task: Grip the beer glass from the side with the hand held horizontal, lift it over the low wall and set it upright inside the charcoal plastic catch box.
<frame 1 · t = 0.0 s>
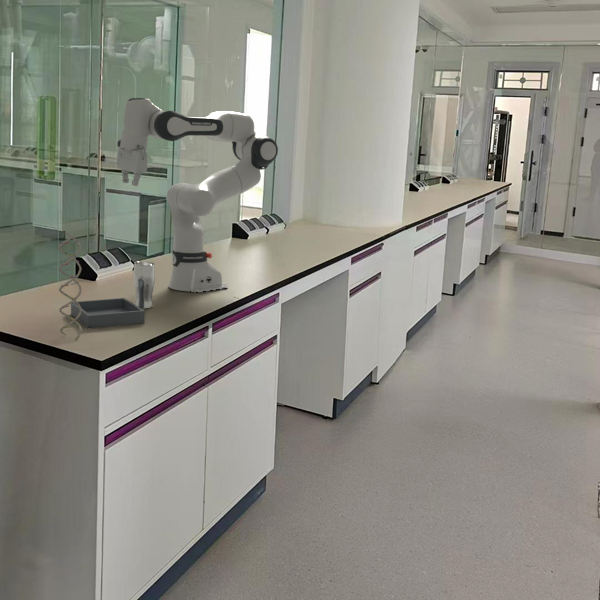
hand: (129, 184, 256), 39 cm above the table, tool pointing down, fingers open, 8 cm apart
dna model: (70, 338, 207), on the table
beer glass: (143, 307, 246), on the table
catch box: (107, 318, 229), on the table
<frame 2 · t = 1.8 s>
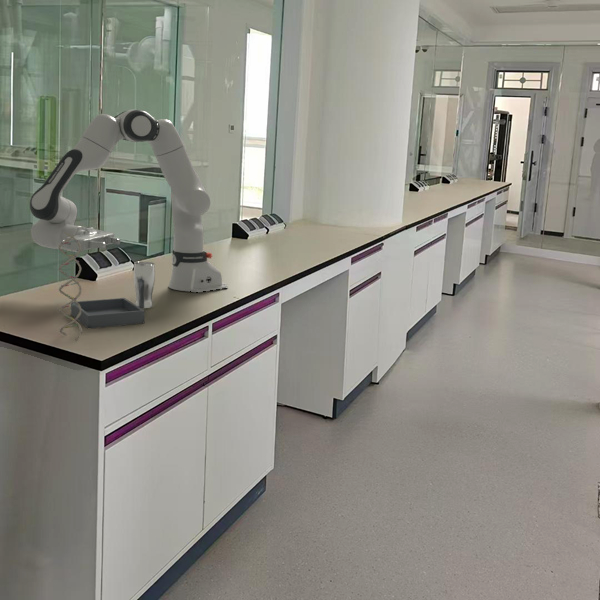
hand: (111, 243, 244), 20 cm above the table, tool horizontal, fingers open, 8 cm apart
nothing on the table moved.
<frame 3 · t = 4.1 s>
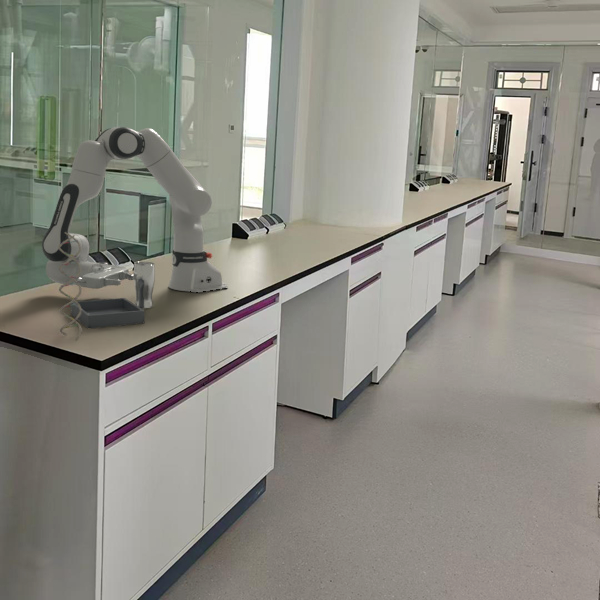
hand: (126, 280, 246), 8 cm above the table, tool horizontal, fingers open, 8 cm apart
nothing on the table moved.
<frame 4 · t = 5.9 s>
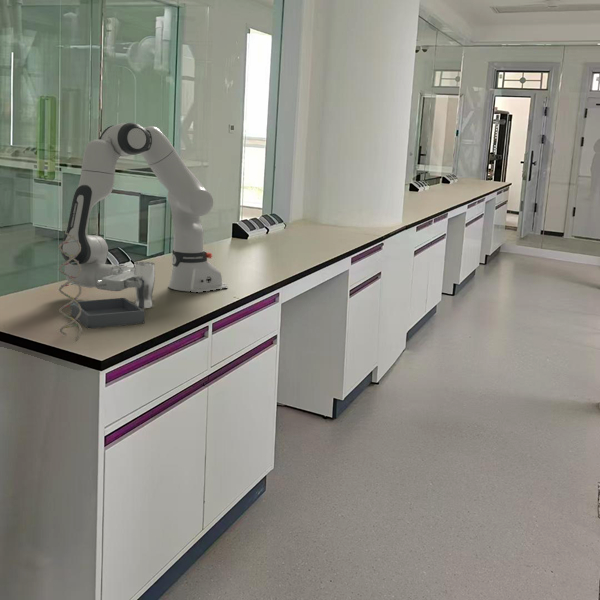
hand: (146, 282, 243), 9 cm above the table, tool horizontal, fingers closed on beer glass, 6 cm apart
beer glass: (144, 307, 246), on the table, touching gripper
everything else where it was.
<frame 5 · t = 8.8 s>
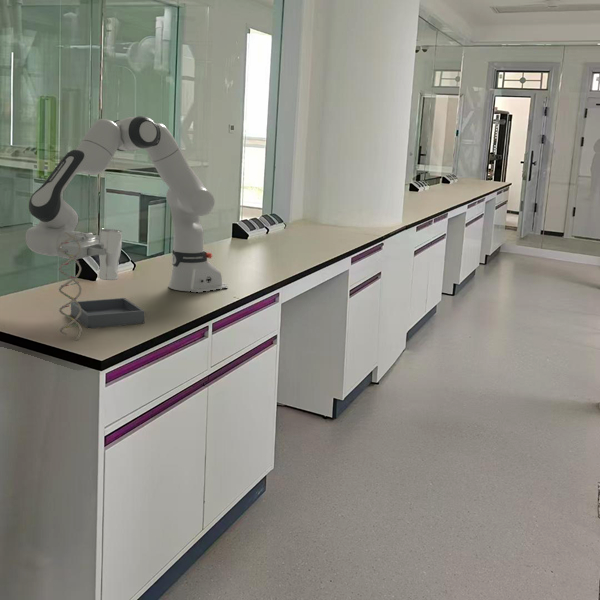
hand: (112, 250, 225), 22 cm above the table, tool horizontal, fingers closed on beer glass, 6 cm apart
beer glass: (108, 278, 227), point 13 cm above the table, touching gripper
everything else where it was.
when the fingers open (10 cm above the table, at t = 11.6 s): beer glass stays where it is, resting on catch box.
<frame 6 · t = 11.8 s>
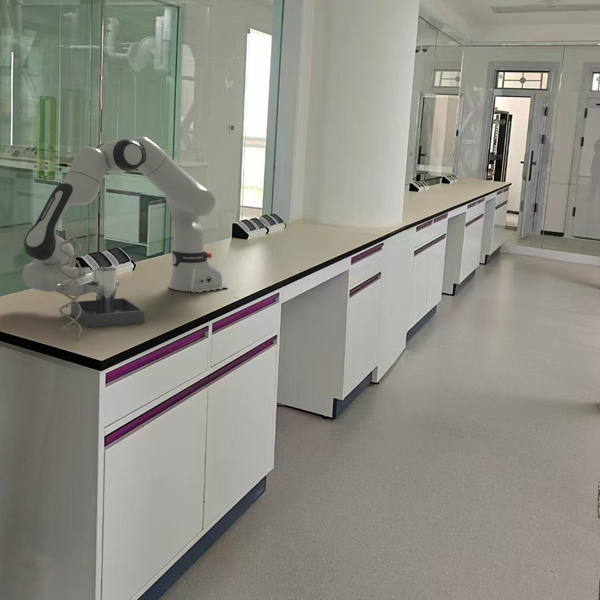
hand: (109, 286, 226), 10 cm above the table, tool horizontal, fingers open, 8 cm apart
beer glass: (105, 316, 228), point 1 cm above the table, touching catch box
everything else where it was.
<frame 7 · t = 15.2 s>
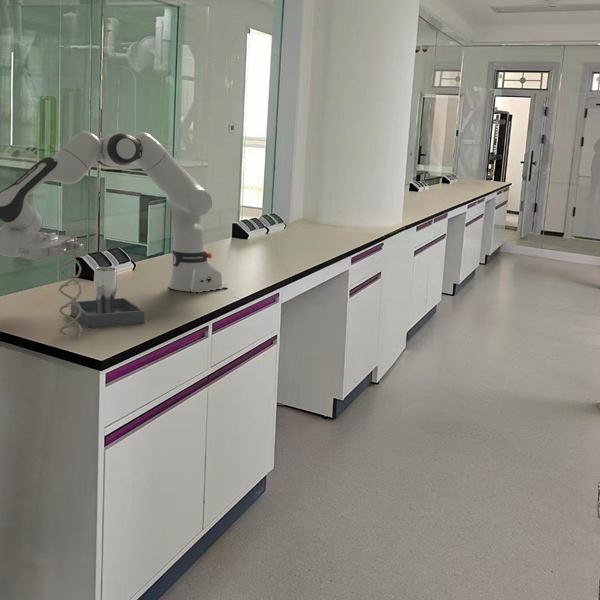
hand: (74, 250, 227), 21 cm above the table, tool horizontal, fingers open, 8 cm apart
nothing on the table moved.
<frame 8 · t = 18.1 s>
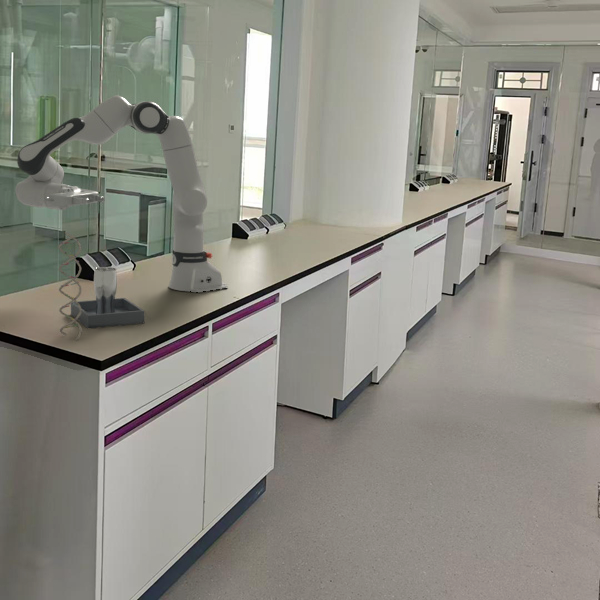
hand: (95, 200, 244), 34 cm above the table, tool horizontal, fingers open, 8 cm apart
nothing on the table moved.
at the end: beer glass inside the target area on the catch box (0.6 cm from its centre), point 0.8 cm above the catch box's base; beer glass tilted 0°; the gripper is holding nothing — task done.
